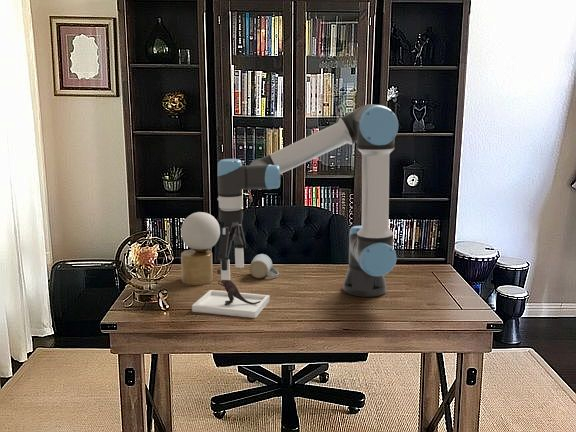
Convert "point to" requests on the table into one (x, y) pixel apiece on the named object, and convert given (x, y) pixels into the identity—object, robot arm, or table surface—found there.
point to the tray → (216, 304)
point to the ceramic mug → (262, 267)
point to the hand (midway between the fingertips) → (232, 273)
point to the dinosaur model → (232, 291)
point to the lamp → (198, 248)
